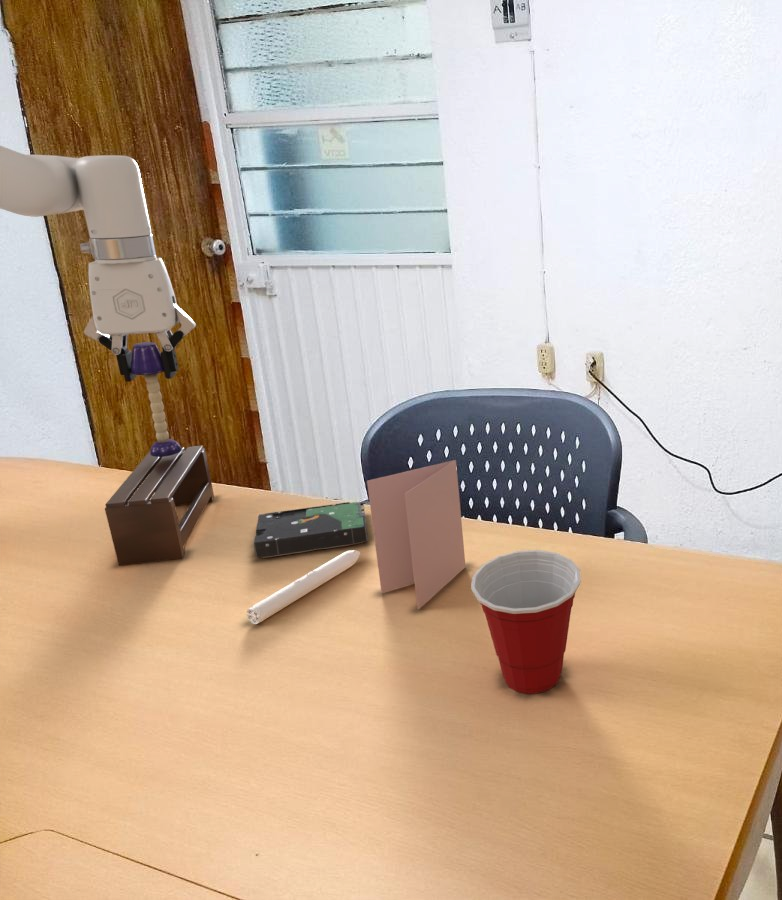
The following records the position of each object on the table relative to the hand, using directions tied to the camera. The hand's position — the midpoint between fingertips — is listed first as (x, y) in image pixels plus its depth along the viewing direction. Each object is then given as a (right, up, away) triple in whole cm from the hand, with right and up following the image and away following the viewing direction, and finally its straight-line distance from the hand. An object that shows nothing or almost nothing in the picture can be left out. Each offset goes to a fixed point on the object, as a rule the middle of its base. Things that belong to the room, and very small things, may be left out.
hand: (151, 376), depth 120 cm
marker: (+29, -28, -16) cm, 44 cm away
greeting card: (+45, -28, -17) cm, 55 cm away
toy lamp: (0, -11, +4) cm, 12 cm away
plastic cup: (+58, -34, -35) cm, 76 cm away
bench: (+2, -22, +2) cm, 22 cm away
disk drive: (+24, -23, -2) cm, 34 cm away
